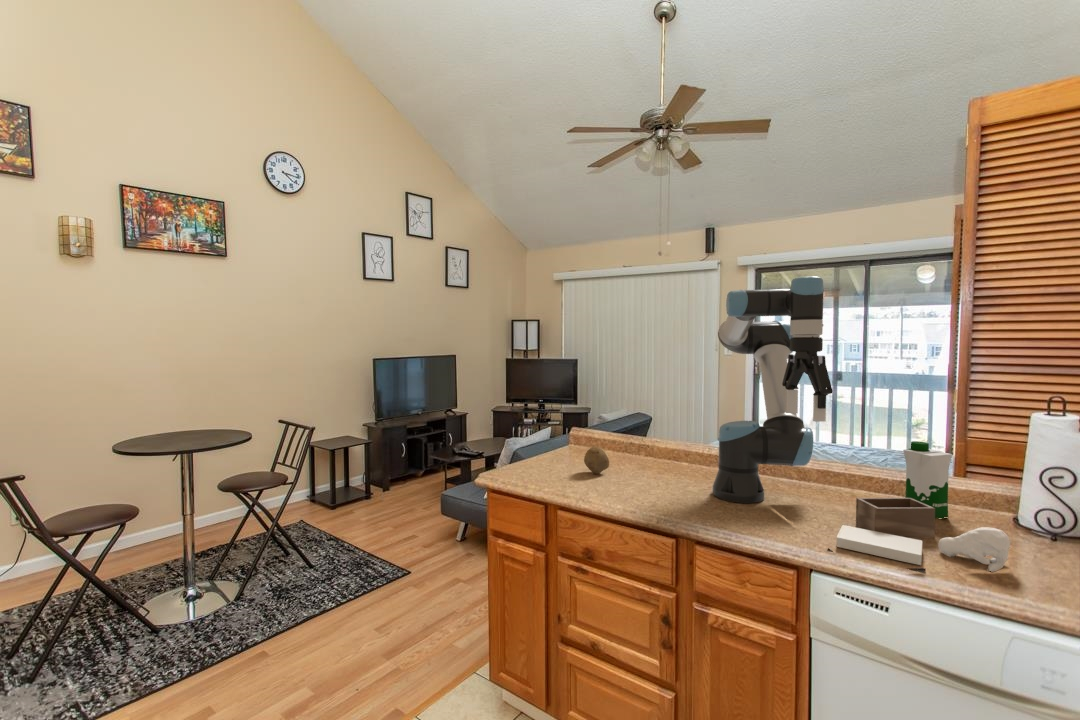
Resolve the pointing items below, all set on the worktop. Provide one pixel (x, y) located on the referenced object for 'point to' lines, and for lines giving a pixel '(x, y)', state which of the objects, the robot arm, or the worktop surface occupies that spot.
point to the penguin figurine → (979, 546)
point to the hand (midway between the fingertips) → (804, 417)
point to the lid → (880, 544)
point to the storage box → (896, 517)
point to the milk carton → (928, 476)
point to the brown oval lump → (596, 460)
